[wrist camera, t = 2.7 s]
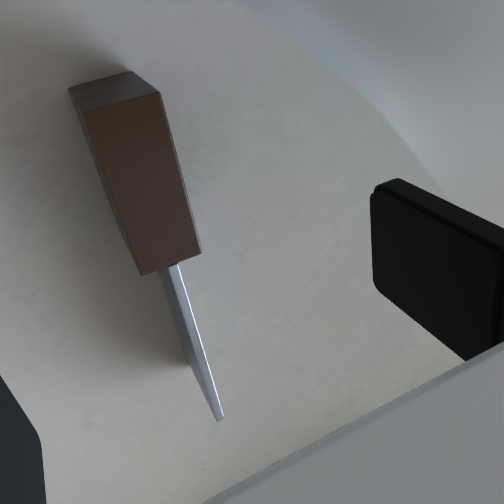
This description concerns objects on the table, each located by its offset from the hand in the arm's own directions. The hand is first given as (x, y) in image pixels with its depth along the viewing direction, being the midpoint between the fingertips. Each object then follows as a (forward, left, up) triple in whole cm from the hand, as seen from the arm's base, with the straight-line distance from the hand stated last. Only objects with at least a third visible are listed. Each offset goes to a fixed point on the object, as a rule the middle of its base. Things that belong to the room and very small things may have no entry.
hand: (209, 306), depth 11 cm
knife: (+2, +3, -10) cm, 11 cm away
